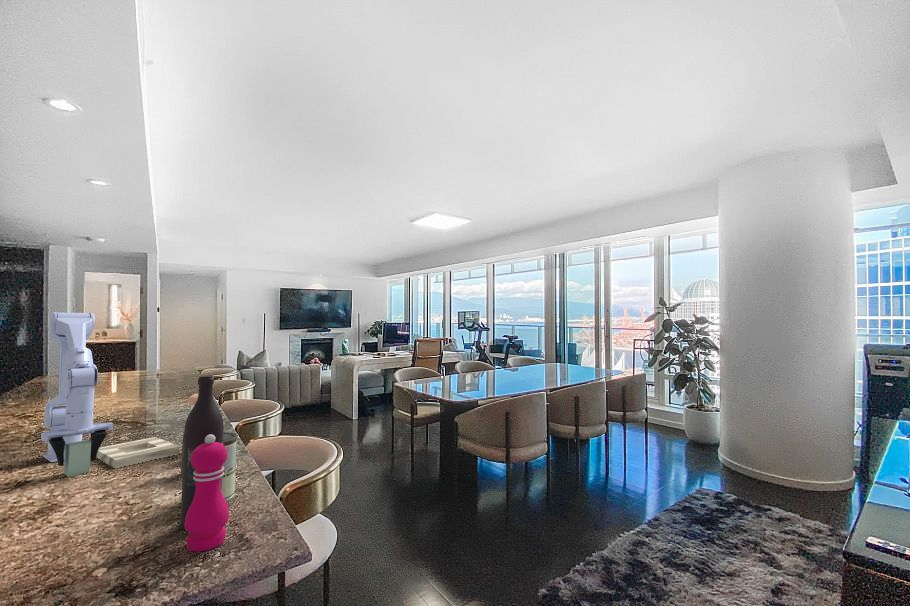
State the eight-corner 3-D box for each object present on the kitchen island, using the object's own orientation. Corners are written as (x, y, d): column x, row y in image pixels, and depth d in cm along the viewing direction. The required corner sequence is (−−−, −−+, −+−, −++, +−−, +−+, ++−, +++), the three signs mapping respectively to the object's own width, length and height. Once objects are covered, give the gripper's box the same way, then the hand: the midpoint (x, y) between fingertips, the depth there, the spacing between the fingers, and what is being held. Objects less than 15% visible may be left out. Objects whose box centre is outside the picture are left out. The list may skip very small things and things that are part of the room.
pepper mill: (196, 533, 80) (200, 429, 81) (235, 532, 81) (238, 429, 82) (174, 554, 73) (179, 440, 74) (217, 552, 74) (221, 439, 75)
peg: (63, 473, 112) (65, 443, 112) (84, 468, 116) (86, 439, 116) (68, 477, 109) (69, 446, 110) (89, 472, 113) (91, 442, 113)
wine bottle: (178, 534, 80) (184, 379, 81) (182, 519, 86) (188, 375, 88) (219, 526, 83) (224, 377, 85) (221, 512, 89) (225, 373, 91)
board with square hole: (94, 456, 126) (94, 448, 126) (155, 444, 139) (155, 436, 139) (115, 469, 115) (115, 459, 116) (178, 454, 129) (179, 446, 129)
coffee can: (179, 511, 90) (182, 445, 91) (189, 493, 99) (191, 434, 100) (233, 503, 94) (235, 440, 95) (237, 487, 103) (239, 430, 104)
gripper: (47, 418, 105) (44, 472, 104) (117, 408, 117) (115, 457, 116) (40, 414, 109) (37, 467, 108) (109, 406, 121) (106, 452, 120)
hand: (77, 461), depth 113 cm, fingers open, 6 cm apart
